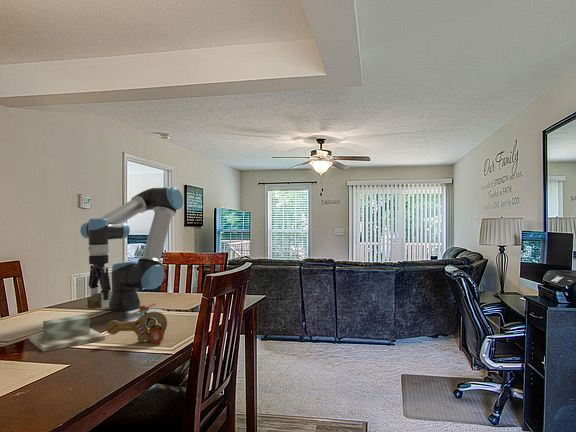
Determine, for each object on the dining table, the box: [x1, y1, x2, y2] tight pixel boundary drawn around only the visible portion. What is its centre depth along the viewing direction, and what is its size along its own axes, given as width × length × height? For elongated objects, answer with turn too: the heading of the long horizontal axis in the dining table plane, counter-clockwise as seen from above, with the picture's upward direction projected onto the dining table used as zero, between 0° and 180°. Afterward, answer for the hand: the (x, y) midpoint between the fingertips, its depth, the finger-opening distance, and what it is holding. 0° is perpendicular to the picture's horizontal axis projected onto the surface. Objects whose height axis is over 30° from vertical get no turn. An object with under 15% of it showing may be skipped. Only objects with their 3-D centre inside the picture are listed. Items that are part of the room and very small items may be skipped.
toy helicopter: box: [105, 303, 168, 345], centre depth 149 cm, size 8×21×14 cm, turn 103°
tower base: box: [28, 314, 106, 353], centre depth 152 cm, size 20×20×8 cm
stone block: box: [86, 292, 102, 310], centre depth 176 cm, size 6×12×5 cm, turn 6°
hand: (99, 305), depth 176 cm, fingers closed on stone block, 12 cm apart
